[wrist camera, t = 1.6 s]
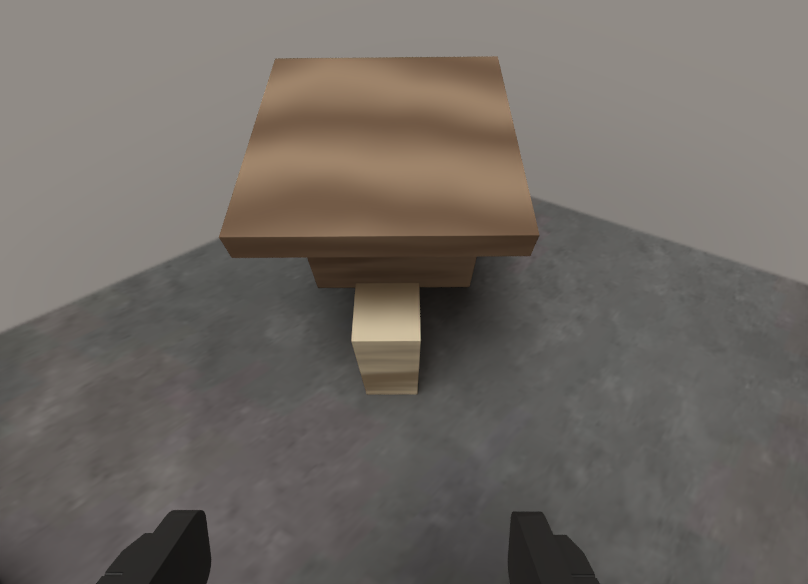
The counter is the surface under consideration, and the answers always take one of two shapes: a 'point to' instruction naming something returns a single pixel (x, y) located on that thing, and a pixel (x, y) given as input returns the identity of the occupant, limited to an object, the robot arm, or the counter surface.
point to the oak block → (387, 336)
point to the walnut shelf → (383, 171)
